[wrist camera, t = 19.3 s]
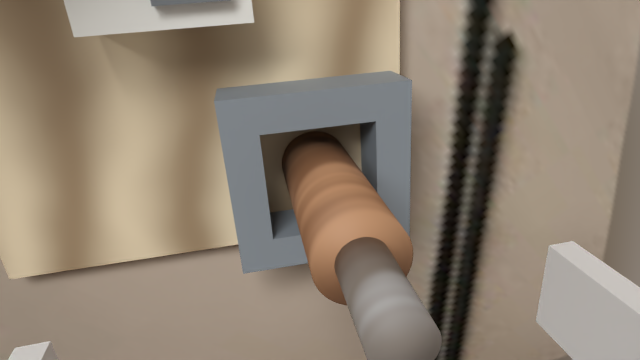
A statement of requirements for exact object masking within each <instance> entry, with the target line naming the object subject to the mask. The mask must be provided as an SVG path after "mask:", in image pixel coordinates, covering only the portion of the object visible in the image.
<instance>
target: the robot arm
mask: <svg viewBox="0 0 640 360" xmlns="http://www.w3.org/2000/svg"><path fill="white" fill-rule="evenodd" d="M536 322H537V323H538V324H539V325H540V326H541V327H542V328H543V329H544V330H545V331H546V332H547V333H548V334H549V335H550V336H551V337H552V338H553V339H554V340H555V341H556V343H557V344H558V345H559V346H560V347H561V348H562V349H563V350H564V351H565V352H566V353H567V354H568V355H569V356H570V357H571V358H572V359H573V360H640V287H638V286H637V285H635V284H633V283H632V282H631V281H629V280H628V279H627V278H625V277H624V276H622V275H621V274H619V273H618V272H616V271H615V270H614V269H612V268H611V267H609V266H608V265H607V264H605V263H604V262H602V261H601V260H599V259H598V258H596V257H595V256H594V255H592V254H591V253H589V252H588V251H586V250H585V249H584V248H582V247H581V246H579V245H578V244H576V243H575V242H573V241H570V242H565V243H560V244H554V245H549V248H548V254H547V260H546V265H545V271H544V277H543V283H542V289H541V294H540V300H539V306H538V312H537V317H536ZM8 360H58V357H57V355H56V353H55V350H54V348H53V346H52V343H51V341H48V342H43V343H38V344H33V345H27V346H22V347H17V348H15V349H14V350H13V352H12V354H11V355H10V357H9V359H8Z"/></svg>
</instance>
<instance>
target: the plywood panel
mask: <svg viewBox="0 0 640 360" xmlns="http://www.w3.org/2000/svg"><path fill="white" fill-rule="evenodd" d="M252 8H253V16H254V23H243V24H231V25H219V26H207V27H195V28H182V29H170V30H158V31H146V32H133V33H121V34H109V35H97V36H85V37H74V36H73V32H72V29H71V25H70V21H69V18H68V14H67V11H66V7H65V4H64V0H0V258H1V260H2V263H3V265H4V267H5V269H6V272H7V274H8V276H9V279H16V278H22V277H29V276H35V275H42V274H48V273H55V272H61V271H68V270H74V269H81V268H87V267H94V266H100V265H107V264H113V263H120V262H126V261H133V260H140V259H146V258H153V257H159V256H166V255H172V254H179V253H185V252H192V251H198V250H205V249H211V248H218V247H224V246H231V245H237V244H238V240H237V234H236V228H235V222H234V216H233V210H232V204H231V198H230V193H229V187H228V181H227V175H226V169H225V163H224V157H223V151H222V146H221V140H220V134H219V128H218V122H217V116H216V110H215V104H214V99H215V95H216V90H217V89H218V88H227V87H237V86H247V85H256V84H266V83H276V82H285V81H295V80H305V79H314V78H324V77H334V76H343V75H353V74H363V73H372V72H382V71H393V72H395V73H397V74H399V75H400V0H252ZM311 131H321V132H325V133H328V134H330V135H332V136H334V137H335V138H336V139H337V140H338V141H339V142H340V143H341V144H342V146H343V147H344V148H345V150H346V151H347V152H348V154H349V155H350V157H351V158H352V159H353V161H354V162H355V163H356V165H357V166H358V167H359V169H360V170H361V171H362V168H361V138H360V123H358V124H349V125H341V126H333V127H324V128H316V129H308V130H299V131H291V132H282V133H274V134H266V135H260V143H261V150H262V158H263V166H264V173H265V181H266V188H267V196H268V203H269V211H270V212H277V211H284V210H291V209H293V206H292V202H291V199H290V195H289V191H288V188H287V184H286V181H285V177H284V173H283V169H282V158H283V154H284V151H285V149H286V147H287V146H288V145H289V143H290V142H291V141H292V140H293V139H295V138H296V137H297V136H299V135H301V134H303V133H306V132H311Z"/></svg>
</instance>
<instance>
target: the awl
mask: <svg viewBox="0 0 640 360" xmlns="http://www.w3.org/2000/svg"><path fill="white" fill-rule="evenodd" d="M282 169H283V173H284V177H285V181H286V184H287V188H288V191H289V195H290V199H291V202H292V206H293V210H294V213H295V217H296V220H297V224H298V228H299V231H300V235H301V239H302V242H303V246H304V249H305V253H306V257H307V260H308V264H309V268H310V271H311V275H312V278H313V281H314V283H315V285H316V287H317V288H318V290H319V291H320V292H321V293H322V294H323V295H324V296H325V297H327V298H328V299H330V300H332V301H334V302H336V303H339V304H343V305H347V306H348V308H349V311H350V314H351V316H352V319H353V322H354V325H355V327H356V330H357V333H358V336H359V338H360V341H361V344H362V346H363V349H364V352H365V355H366V357H367V360H434V359H435V358H436V357H437V355H438V353H439V351H440V348H441V343H442V337H441V333H440V331H439V329H438V328H437V326H436V324H435V323H434V321H433V319H432V318H431V316H430V315H429V313H428V311H427V310H426V308H425V306H424V305H423V303H422V302H421V300H420V298H419V297H418V295H417V294H416V292H415V290H414V289H413V287H412V285H411V284H410V282H409V281H408V279H407V277H406V276H407V274H408V273H409V270H410V268H411V265H412V260H413V247H412V243H411V240H410V237H409V236H408V234H407V232H406V231H405V230H404V228H403V227H402V226H401V224H400V223H399V222H398V220H397V219H396V218H395V216H394V215H393V213H392V212H391V211H390V209H389V208H388V207H387V205H386V204H385V203H384V201H383V200H382V199H381V197H380V196H379V194H378V193H377V192H376V190H375V189H374V188H373V186H372V185H371V184H370V182H369V181H368V180H367V178H366V177H365V176H364V174H363V173H362V171H361V170H360V169H359V167H358V166H357V165H356V163H355V162H354V161H353V159H352V158H351V157H350V155H349V154H348V152H347V151H346V150H345V148H344V147H343V146H342V144H341V143H340V142H339V141H338V140H337V139H336V138H335V137H334V136H332V135H330V134H328V133H325V132H321V131H311V132H306V133H303V134H301V135H299V136H297V137H296V138H295V139H293V140H292V141H291V142H290V143H289V145H288V146H287V147H286V149H285V151H284V154H283V158H282Z"/></svg>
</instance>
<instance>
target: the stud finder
mask: <svg viewBox="0 0 640 360" xmlns="http://www.w3.org/2000/svg"><path fill="white" fill-rule="evenodd" d="M64 4H65V7H66V11H67V14H68V18H69V21H70V25H71V29H72V32H73V36H74V37H85V36H97V35H109V34H121V33H133V32H146V31H158V30H170V29H182V28H195V27H207V26H219V25H231V24H243V23H254V16H253V8H252V0H64Z"/></svg>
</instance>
